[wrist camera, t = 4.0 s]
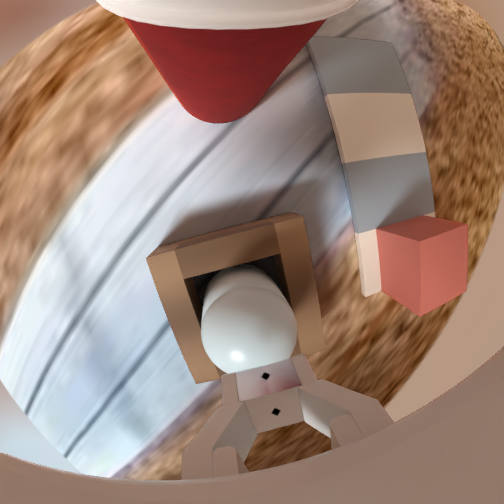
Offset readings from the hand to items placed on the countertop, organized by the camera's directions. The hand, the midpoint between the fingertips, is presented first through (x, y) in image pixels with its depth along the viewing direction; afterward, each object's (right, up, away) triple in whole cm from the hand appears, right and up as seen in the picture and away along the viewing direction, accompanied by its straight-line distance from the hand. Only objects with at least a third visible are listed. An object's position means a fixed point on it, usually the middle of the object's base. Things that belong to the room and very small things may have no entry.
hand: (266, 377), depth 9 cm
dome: (-1, +1, +8) cm, 8 cm away
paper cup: (-3, +15, +7) cm, 17 cm away
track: (+10, +12, +9) cm, 17 cm away
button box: (-1, +2, +10) cm, 10 cm away
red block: (+11, +4, +10) cm, 16 cm away
